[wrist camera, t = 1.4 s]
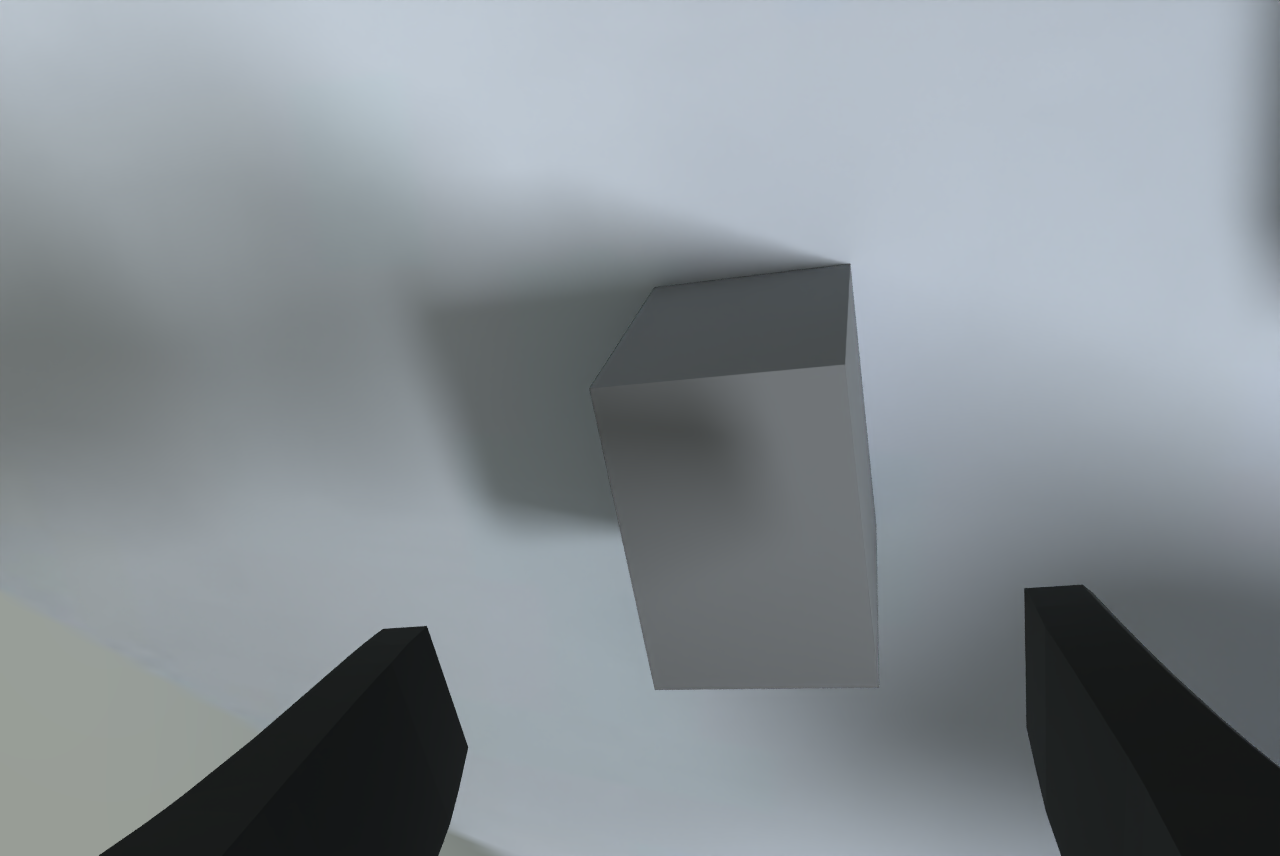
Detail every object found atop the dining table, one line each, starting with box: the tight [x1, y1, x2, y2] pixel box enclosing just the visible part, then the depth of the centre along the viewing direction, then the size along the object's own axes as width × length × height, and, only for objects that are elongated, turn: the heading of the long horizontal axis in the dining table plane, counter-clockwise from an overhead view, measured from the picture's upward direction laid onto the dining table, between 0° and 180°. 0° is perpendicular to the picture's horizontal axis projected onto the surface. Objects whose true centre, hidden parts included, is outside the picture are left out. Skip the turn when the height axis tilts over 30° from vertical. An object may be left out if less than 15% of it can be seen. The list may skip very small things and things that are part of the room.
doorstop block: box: [589, 264, 879, 690], centre depth 19 cm, size 6×4×6 cm, turn 11°
